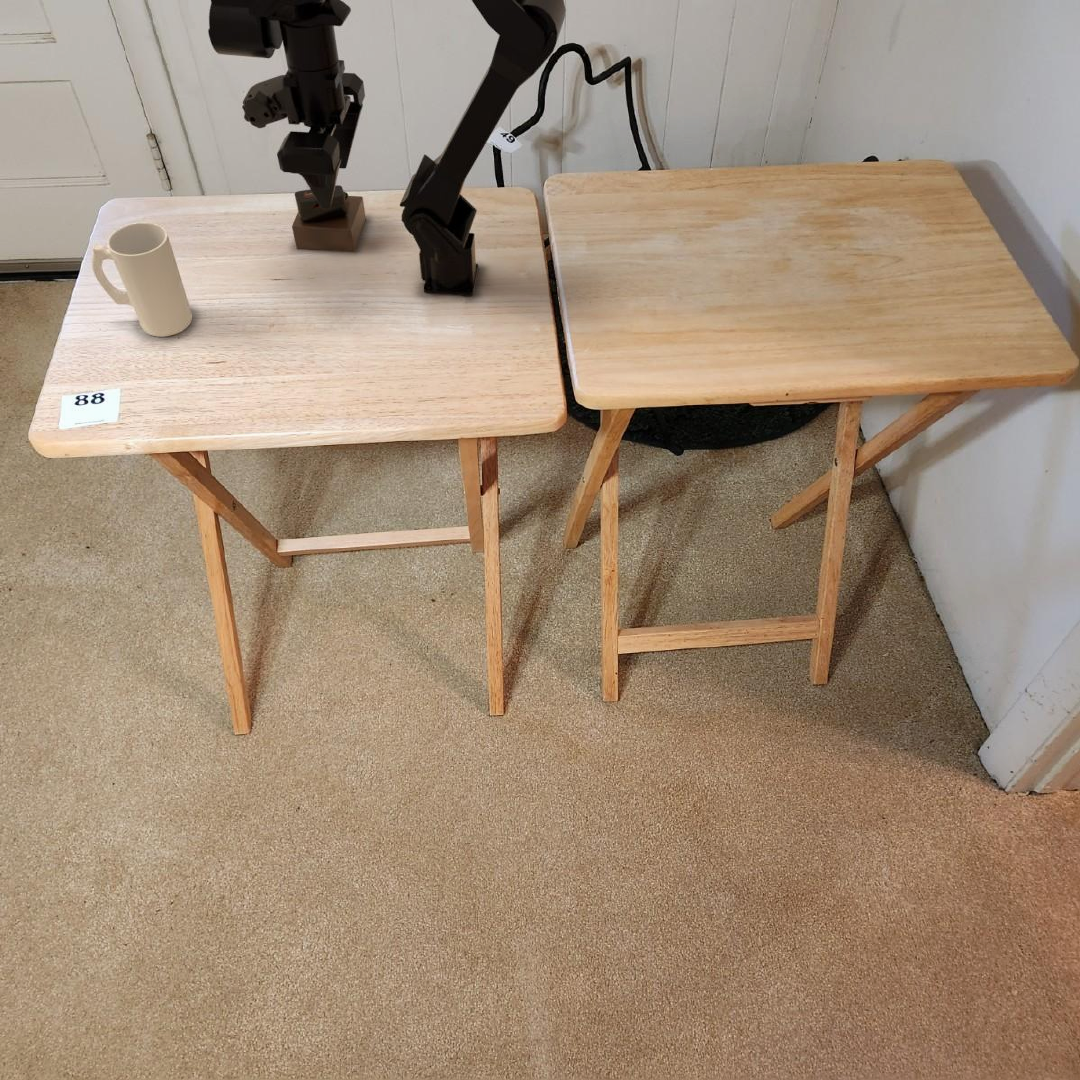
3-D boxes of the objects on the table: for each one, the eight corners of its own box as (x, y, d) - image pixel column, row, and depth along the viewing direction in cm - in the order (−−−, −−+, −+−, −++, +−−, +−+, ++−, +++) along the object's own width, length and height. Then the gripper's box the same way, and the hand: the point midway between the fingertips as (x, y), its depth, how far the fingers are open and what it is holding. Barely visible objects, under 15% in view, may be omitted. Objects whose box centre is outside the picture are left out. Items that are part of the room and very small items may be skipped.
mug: (200, 305, 125) (173, 222, 115) (187, 339, 120) (159, 256, 111) (122, 303, 125) (89, 221, 115) (106, 337, 120) (70, 254, 111)
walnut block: (366, 218, 137) (362, 196, 134) (354, 252, 132) (350, 229, 129) (310, 215, 137) (305, 193, 135) (296, 248, 132) (291, 226, 130)
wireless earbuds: (354, 216, 131) (350, 194, 129) (301, 224, 130) (296, 203, 127) (348, 198, 134) (345, 176, 132) (296, 206, 133) (291, 184, 130)
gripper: (263, 19, 114) (288, 145, 126) (216, 97, 103) (249, 227, 115) (356, 24, 114) (373, 149, 126) (321, 102, 102) (342, 232, 114)
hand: (334, 187), depth 120 cm, fingers open, 9 cm apart
